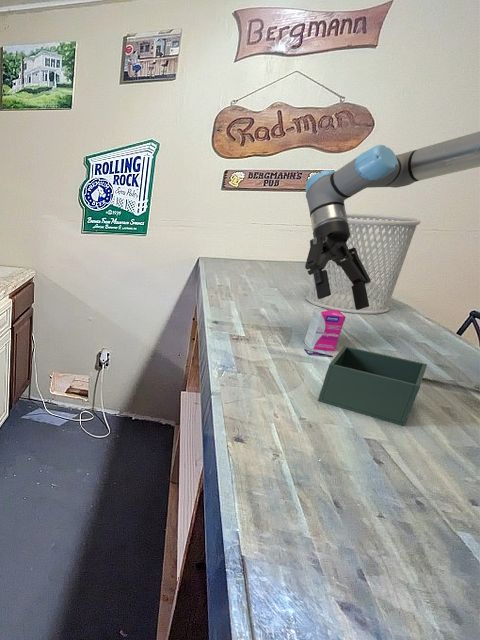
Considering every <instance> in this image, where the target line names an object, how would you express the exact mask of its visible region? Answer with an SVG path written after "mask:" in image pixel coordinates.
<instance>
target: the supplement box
mask: <svg viewBox="0 0 480 640" xmlns="http://www.w3.org/2000/svg"><path fill="white" fill-rule="evenodd" d="M345 320H346V316H345V314H343V312H341V311H339V310H331V309H327V308H322V307H313V312H312V315H311V318H310V320H309V321H310V322H309V325H308V328H307V331H306V334H305V337H304V344H305V345H306V346H307V348H308V349H307V348H306V349H305V348H304V352H305V353H306V354H307V355H309V356H317V357H318V356H320V357H327V358H333V355H331V354H327V353H322V352H318V351H326V352H335V350H336V347H337V344H338V342H339V338H340V335H341V332H342V329H343V327H344V323H345ZM313 350H315V351H313Z"/></svg>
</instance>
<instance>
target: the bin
mask: <svg viewBox="0 0 480 640" xmlns="http://www.w3.org/2000/svg"><path fill="white" fill-rule="evenodd" d="M427 367H428V364H427V363H424V362H419V361H414V360H410V359H406V358H401V357H396V356H392V355H387V354H383V353H378V352H373V351H368V350H364V349H360V348H356V347H351V346H347V345H343V346H342V347H341V349H340V351H338V353H337V354H336V355H335V357H334V358H333V359H332V360H331V361H330V363H329V364H328V367H327V370H326V373H325V377H324V380H323V383H322V386H321V389H320V393H319V396H318V399H317V401H318V402H321V403H324V404H327V405H331V406H334V407H338V408H340V409H344V410H348V411H351V412H355V413H358V414H361V415H364V416H367V417H368V416H369V417H372V418H375V419H378V420H382V421H385V422H389V423H393V424H397V425H398V426H399V425H400V426H403V427H404V426H405V424H406V423H407V420H408V418H409V415H410V414H411V413H410V412H411V410H412V408H413V405H414V403H415V400H416V398H417V395H418V394H419V391H420V388H421V385H422V382H423V379H424V376H425V373H426V369H427Z"/></svg>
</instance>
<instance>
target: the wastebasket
mask: <svg viewBox="0 0 480 640" xmlns="http://www.w3.org/2000/svg"><path fill="white" fill-rule="evenodd" d="M346 215H347V220H348V222H347V223H348V225H349V230H350V237H349V239H348V240H347V242H346V245H347V247H348V249H351V248H353V247H355V248H356V250H357V254H358V257H359V259H360V260H361V262H362V264H363V266H364V268H365V270H366V272H367V274H368V276H369V278H370V280H371V282H370V283H367V284H365V287H366V292H367V297H368V302H369V307H366V308H363V309H360V310H356V308H355V303H354V297H353V292H352V287H351V286H353V284H352V282H351V281H350V279H349V278H348V276H347V275H346V273H345V272H344V271H343V269H342V268H341V266H338V265H337V264H336V263H335V262H334V261H332V260H329V261H328V263H327V264H326V266H325V267H324V269H323V270H327V274H328V280H329V286H330V291H331V295H330V296H327V297H325V298H322V299H318V297H317V291H316V285H315V281H314V277H313V278H312V281H311V285H310V289H309V292H308V295H306V297H305V299H306V301H307V302H309V304H312V305H315V306H317V307H319V308H322V309H331V310H339V311H340V312H341V313H348V314H357V315H358V314H360V315H379V314H385V313H387V312H389V310H390V307H389V305H390V302H391V299H392V297H393V293H394V291H395V288H396V285H397V282H398V279H399V276H400V274H401V271H402V268H403V265H404V262H405V259H406V256H407V254H408V251H409V249H410V245H411V242H412V239H413V236H414V235H415V231H416V228H417V226H418V225H420V224H421V219H419V218H417V217H409V216H402V215H394V214H393V215H391V214H379V213H352V212H351V213H350V212H349V213H347V212H346ZM374 219H375V220H374ZM357 229H358V230H357ZM363 229H364V230H365V231H364V232H363ZM370 229H371V230H372V231H371V232H370V231H369V230H370ZM377 229H378V231H377ZM376 231H377V232H376ZM383 231H384V232H383ZM389 232H390V233H389ZM365 235H366V238H365ZM358 236H359V237H358ZM371 236H373V238H372V239H371ZM378 237H379V238H378ZM377 238H378V239H377ZM384 238H385V239H384ZM353 242H354V243H353ZM359 242H360V243H359ZM366 242H367V245H366ZM373 243H374V244H373ZM372 244H373V245H372ZM379 244H380V245H379ZM378 245H379V246H378ZM367 250H368V251H367ZM373 251H374V252H373ZM368 257H369V258H368ZM343 260H345V259H343ZM341 261H342V260H341ZM332 269H333V270H332ZM323 270H322V271H323ZM337 270H338V271H337ZM333 275H334V276H333ZM338 276H339V277H338ZM344 277H345V278H344ZM334 281H335V283H334ZM339 282H340V283H339ZM345 283H346V284H345ZM335 287H336V288H335ZM334 288H335V289H334ZM340 289H341V290H340ZM374 292H375V293H374Z"/></svg>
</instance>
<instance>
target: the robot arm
mask: <svg viewBox="0 0 480 640" xmlns="http://www.w3.org/2000/svg"><path fill="white" fill-rule="evenodd" d="M479 167H480V130H479V131H476V132H472V133H468V134H466V135H462V136H459V137H455V138H452V139H447V140H445V141H441V142H438V143H434V144H430V145H427V146H424V147H421V148H417V149H414V150H410V151H406V152H402V153H400V154H395V152H394V151H393V150H392V149H391V148H390V147H387V146H386V145H384V144H378V145H374V146H372V147H371V148H369V149H367V150H365V151H363V152H361V153H360V154H359V155H358V156H356V157H355V158H353V159H352V160H351V161H349V162H348V163H346V164H345V165H343V166H342V167H341V168H339V169H337V170H336V171H335V170H333V169H325V170H321V171H320V172H318V173H317V172H316V173H314V174H313V175H311V176H310V177H309V178H307V180H306V182H305V198H306V201H307V206H308V210H309V218H310V223H311V229H312V236H313V238H312V239H310V240H309V250H308V253H307V258H306V262H305V265H304V268H305V270H308V271H307V274H308V275H309V276H312V275H313V278H314V281H315V285H316V291H317V297H318V299H322V298H325V297H327V296H330V295H331V293H332V291H330V289H331V285H330V286H329V283H330V279H329V280H328V277H329V274H328V273H327V271H328V269H327V270H323V269H324V267H325V266H326V264H328V262H329V260H331V261H332V262H333V261H334V262H335V263H336V266H337V265H338V266H341V268H342V272H343V273H344V272H345V273H346V275H347V276H348V278H349V279H350V282H352V284H353V286H352V284H351V287H352V292H353V297H354V303H355V308H356V310H360V309H363V308H366V307H369V302H368V297H367V295H368V292H366V288H367V286H366V287H365V284H367V283H370V282H372V280H370V279H371V278H369V276H368V274H367V272H366V268H364V266H363V265H364V263H362V262H361V260H360V258H359V257H358V255H359V253H358V254H357V250H356V248H355V247H353V248H352V247H351V249H349V247H347V245H346V242H347V243H348V241H347V240H348V239H349V240H350V238H349V237H350V230H349V225H348V223H347V222H348V220H347V215H346V213H347V210H346V205H345V201H346V200H348V199H350V198H351V197H353V196H355V195H357V194H358V193H360V192H361V191H363V190H365V189H367V188H369V189H371V188H403V187H407V186H410V185H412V184H414V183H417V182H419V181H424V180H428V179H432V178H433V179H434V178H436V177H441V176H445V175H449V174H453V173H458V172H462V171H467V170H471V169H475V168H479ZM343 259H344V260H343ZM341 260H342V261H341ZM322 270H323V271H322ZM346 275H345V276H346Z"/></svg>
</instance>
